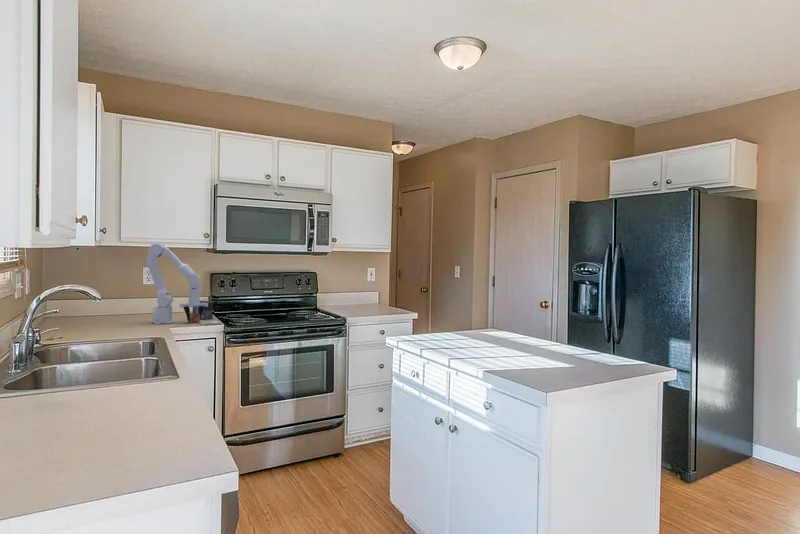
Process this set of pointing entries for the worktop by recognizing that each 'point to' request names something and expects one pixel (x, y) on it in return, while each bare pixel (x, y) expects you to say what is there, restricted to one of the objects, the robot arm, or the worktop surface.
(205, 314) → the small box
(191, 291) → the robot arm
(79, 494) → the worktop surface
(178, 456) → the worktop surface
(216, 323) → the plate
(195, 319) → the walnut cube
